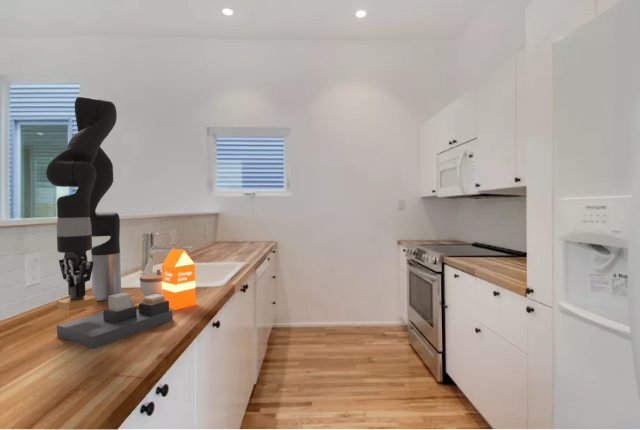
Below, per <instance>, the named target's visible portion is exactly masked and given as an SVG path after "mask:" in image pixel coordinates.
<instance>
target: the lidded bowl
mask: <svg viewBox="0 0 640 430" xmlns="http://www.w3.org/2000/svg"><path fill="white" fill-rule="evenodd" d="M139 281H140V283H139V285H140V291H141V293H142V295H143V297H147V296H150V295H154V294H159V295H163V294H162V271H161V269H157V270H156V272H150V273H146V274H143V275H141V276H139Z"/></svg>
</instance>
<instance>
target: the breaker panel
mask: <svg viewBox="0 0 640 430" xmlns="http://www.w3.org/2000/svg"><path fill="white" fill-rule="evenodd" d="M172 320H173V309H171V308H169V301H168V300H164V302H161V303H158V304H154V305H148V304H144V302H143V301H142V302H134V303H131V308H128V309H125V310H121V311H118V312H114V311H110V310H109V307H107V308H104V309H103V311H102V312H97V313H95V314H91V315H87V316H83V317H81V318H76V319H73V320H70V321H67V322H62V323H59V324H56V335H57V337H59V338H62V339H64V340H68V341H71V342H74V343H76V344H78V345H82V346H85V347H86V348H87V347H88V348H90V349H92V350H95V349H97V348H100V347H102V346H106V345H108V344H110V343H111V344H112V343H113V342H115V341H118V340H121V339H124V338H127V337H129V336H132V335H134V334H137V333H141V332H143V331H146V330H148V329H151V328H153V327H156V326H159V325H162V324H164V323H167V322H170V321H172Z"/></svg>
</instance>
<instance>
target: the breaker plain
mask: <svg viewBox="0 0 640 430" xmlns="http://www.w3.org/2000/svg"><path fill="white" fill-rule="evenodd" d="M107 301H108V302H107V303H108V308H109V310H110V311H114V312H118V311H121V310H125V309H128V308H131V304H132V294H131V293H127V292H121V293H118V294H114V295H110V296H108V300H107Z"/></svg>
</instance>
